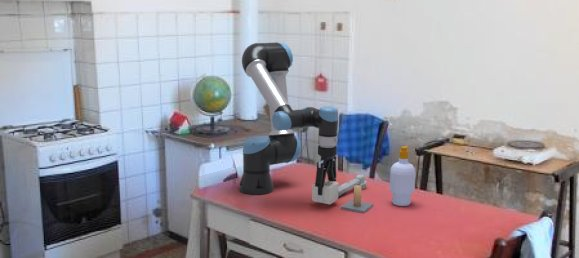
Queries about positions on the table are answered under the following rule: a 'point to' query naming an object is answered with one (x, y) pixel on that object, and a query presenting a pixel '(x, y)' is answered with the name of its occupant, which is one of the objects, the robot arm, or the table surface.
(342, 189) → the toothbrush head
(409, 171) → the soap bottle
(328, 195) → the nut
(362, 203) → the peg on square base
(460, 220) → the table surface
